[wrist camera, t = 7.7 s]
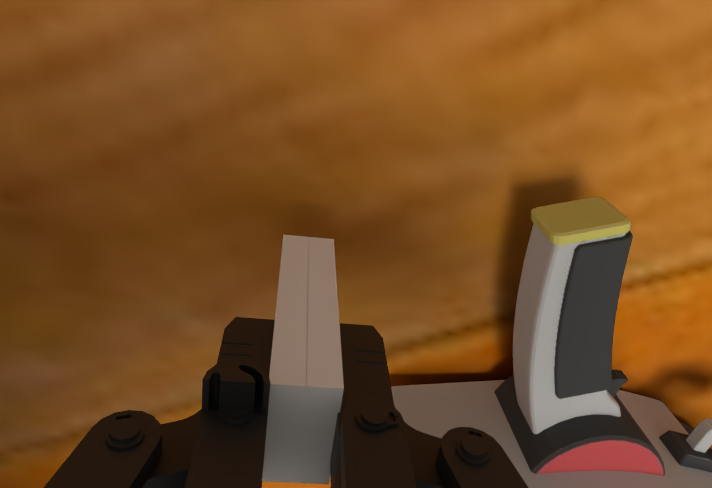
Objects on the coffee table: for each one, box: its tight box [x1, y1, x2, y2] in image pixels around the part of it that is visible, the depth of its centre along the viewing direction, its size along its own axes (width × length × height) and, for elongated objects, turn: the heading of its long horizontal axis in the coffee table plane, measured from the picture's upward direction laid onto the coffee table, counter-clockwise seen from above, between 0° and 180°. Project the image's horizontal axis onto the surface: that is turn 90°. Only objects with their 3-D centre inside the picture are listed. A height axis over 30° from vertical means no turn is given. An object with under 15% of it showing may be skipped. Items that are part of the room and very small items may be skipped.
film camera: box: [391, 197, 712, 488], centre depth 22 cm, size 7×19×15 cm
